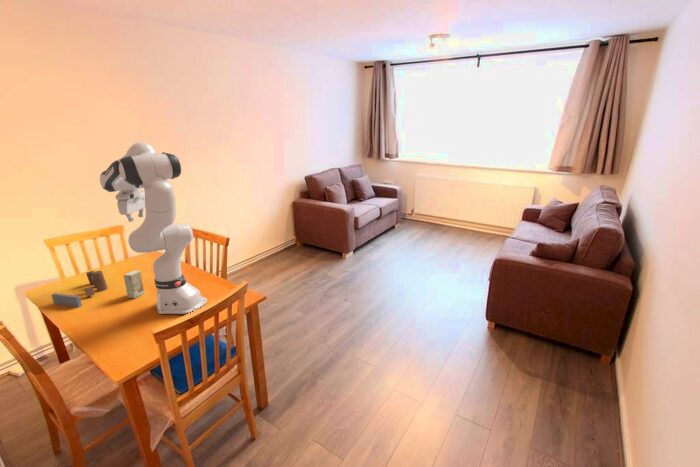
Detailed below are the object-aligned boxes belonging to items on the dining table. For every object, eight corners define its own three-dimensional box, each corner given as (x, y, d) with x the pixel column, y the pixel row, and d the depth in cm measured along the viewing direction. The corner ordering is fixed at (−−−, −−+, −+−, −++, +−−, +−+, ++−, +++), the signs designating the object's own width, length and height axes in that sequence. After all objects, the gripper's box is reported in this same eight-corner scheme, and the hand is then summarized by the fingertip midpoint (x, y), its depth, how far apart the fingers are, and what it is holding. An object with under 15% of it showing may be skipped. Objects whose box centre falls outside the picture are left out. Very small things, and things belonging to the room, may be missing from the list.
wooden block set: (86, 286, 177) (80, 268, 173) (106, 280, 182) (100, 263, 178) (87, 299, 164) (80, 281, 160) (108, 293, 168) (102, 275, 165)
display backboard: (81, 305, 157) (79, 295, 156) (78, 307, 156) (76, 297, 154) (57, 302, 160) (54, 293, 158) (54, 304, 158) (51, 294, 157)
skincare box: (134, 298, 164) (130, 275, 160) (127, 297, 165) (122, 275, 161) (145, 292, 170) (140, 270, 166) (137, 292, 171) (133, 269, 167)
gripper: (136, 189, 183) (140, 214, 187) (113, 197, 163) (118, 224, 167) (148, 189, 183) (152, 214, 187) (126, 196, 164) (131, 224, 168)
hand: (136, 219), depth 177 cm, fingers open, 8 cm apart
